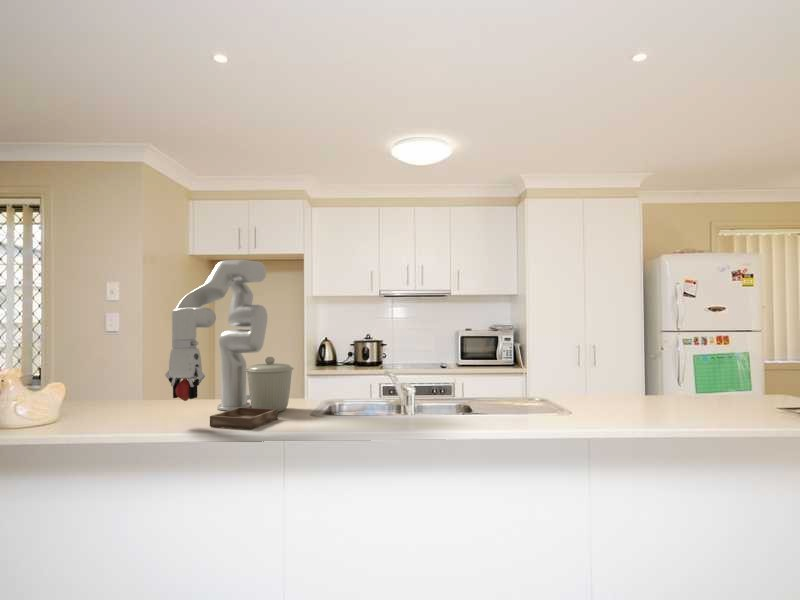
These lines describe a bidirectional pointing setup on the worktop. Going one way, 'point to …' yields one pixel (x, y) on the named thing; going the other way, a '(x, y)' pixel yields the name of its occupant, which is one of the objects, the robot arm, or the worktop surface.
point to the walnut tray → (244, 418)
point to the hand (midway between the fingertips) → (185, 397)
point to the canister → (269, 384)
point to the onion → (183, 390)
